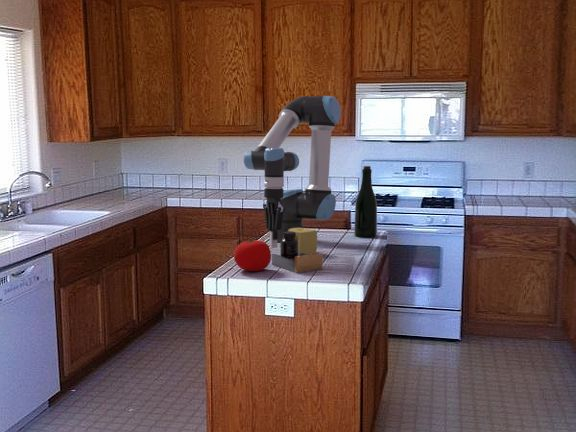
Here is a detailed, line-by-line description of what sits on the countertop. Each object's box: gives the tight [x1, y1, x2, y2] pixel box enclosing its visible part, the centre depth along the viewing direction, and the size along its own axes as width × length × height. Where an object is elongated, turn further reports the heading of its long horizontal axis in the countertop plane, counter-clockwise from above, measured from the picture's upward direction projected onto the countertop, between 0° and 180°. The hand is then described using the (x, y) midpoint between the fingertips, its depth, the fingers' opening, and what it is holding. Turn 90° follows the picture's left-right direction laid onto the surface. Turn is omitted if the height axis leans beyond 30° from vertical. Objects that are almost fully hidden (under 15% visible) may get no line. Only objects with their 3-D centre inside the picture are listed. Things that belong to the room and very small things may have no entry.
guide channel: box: [271, 251, 324, 274], centre depth 256 cm, size 17×11×6 cm, turn 32°
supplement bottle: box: [279, 231, 298, 260], centre depth 260 cm, size 7×7×12 cm
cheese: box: [288, 228, 318, 255], centre depth 281 cm, size 10×11×10 cm
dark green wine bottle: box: [353, 165, 378, 239], centre depth 320 cm, size 10×10×33 cm
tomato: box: [233, 238, 272, 272], centre depth 250 cm, size 12×14×11 cm
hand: (273, 247), depth 269 cm, fingers closed
